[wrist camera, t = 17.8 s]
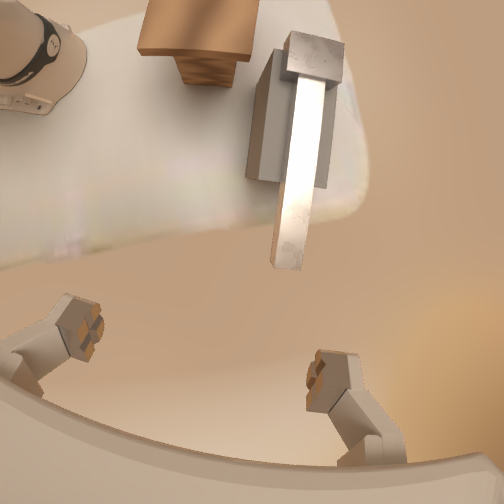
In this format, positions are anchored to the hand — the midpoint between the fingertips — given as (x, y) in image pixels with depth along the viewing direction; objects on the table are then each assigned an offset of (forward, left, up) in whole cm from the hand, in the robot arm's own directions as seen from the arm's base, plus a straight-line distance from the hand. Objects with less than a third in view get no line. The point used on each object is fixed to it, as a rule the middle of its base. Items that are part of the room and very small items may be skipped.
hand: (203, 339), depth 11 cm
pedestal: (+8, +13, -42) cm, 45 cm away
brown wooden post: (-4, +24, -42) cm, 49 cm away
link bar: (+8, +9, -25) cm, 28 cm away
